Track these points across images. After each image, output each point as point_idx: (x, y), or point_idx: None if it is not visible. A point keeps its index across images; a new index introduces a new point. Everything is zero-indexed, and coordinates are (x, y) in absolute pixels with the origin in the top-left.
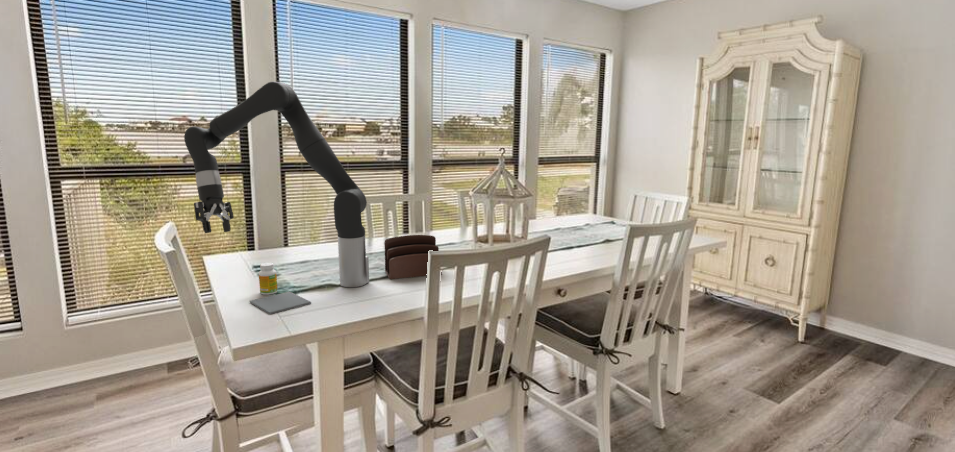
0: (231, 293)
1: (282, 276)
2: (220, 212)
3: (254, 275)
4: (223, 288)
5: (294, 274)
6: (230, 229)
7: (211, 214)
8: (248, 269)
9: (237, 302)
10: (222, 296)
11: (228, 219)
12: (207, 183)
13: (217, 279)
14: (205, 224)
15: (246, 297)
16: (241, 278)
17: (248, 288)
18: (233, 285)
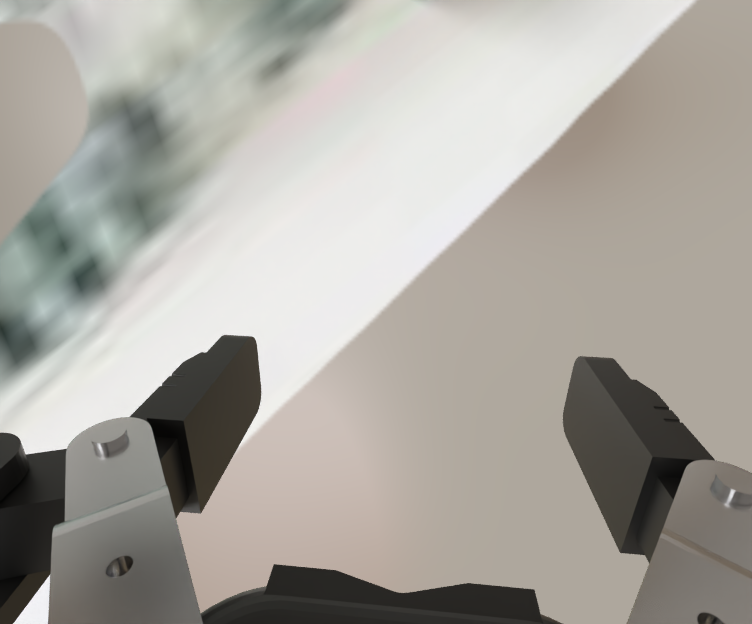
0: (478, 148)
1: (135, 59)
2: (264, 603)
3: (175, 240)
4: (420, 244)
5: (70, 6)
6: (198, 354)
7: (691, 547)
8: (85, 353)
9: (589, 21)
10: (527, 160)
11: (136, 430)
12: None
13: (301, 380)
14: (698, 451)
15: (516, 26)
16: (247, 272)
17: (388, 114)
18: (365, 229)
